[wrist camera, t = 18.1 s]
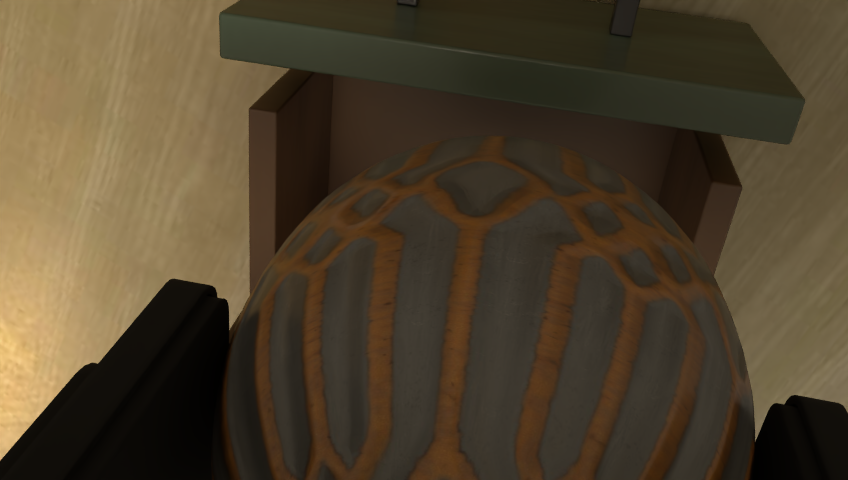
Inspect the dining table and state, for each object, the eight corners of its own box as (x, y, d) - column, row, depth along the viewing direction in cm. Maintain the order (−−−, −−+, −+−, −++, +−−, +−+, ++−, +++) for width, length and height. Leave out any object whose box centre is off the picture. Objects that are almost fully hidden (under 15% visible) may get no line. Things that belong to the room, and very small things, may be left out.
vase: (770, 351, 14) (991, 995, 7) (433, 460, 17) (313, 1015, 9) (600, -4, 12) (639, 365, 4) (238, 188, 14) (-142, 629, 7)
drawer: (308, -241, 24) (210, -254, 17) (811, -182, 22) (903, -173, 16) (292, 358, 35) (229, 483, 28) (629, 421, 33) (642, 567, 27)
